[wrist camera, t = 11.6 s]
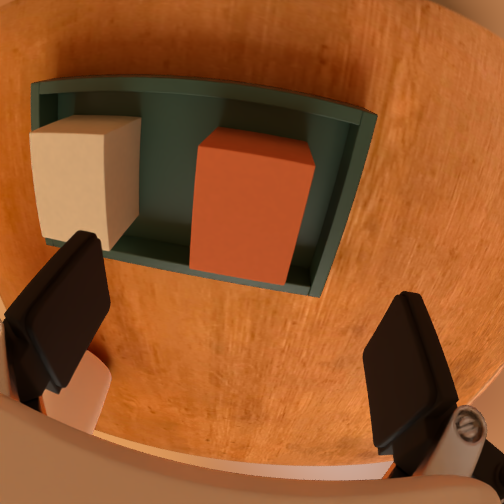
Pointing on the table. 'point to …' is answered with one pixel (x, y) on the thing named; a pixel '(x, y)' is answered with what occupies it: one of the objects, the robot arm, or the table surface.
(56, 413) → the cup
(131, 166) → the cream white rectangular block
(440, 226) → the table surface
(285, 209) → the orange-red block
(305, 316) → the table surface
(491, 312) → the table surface
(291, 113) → the tray
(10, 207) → the table surface
